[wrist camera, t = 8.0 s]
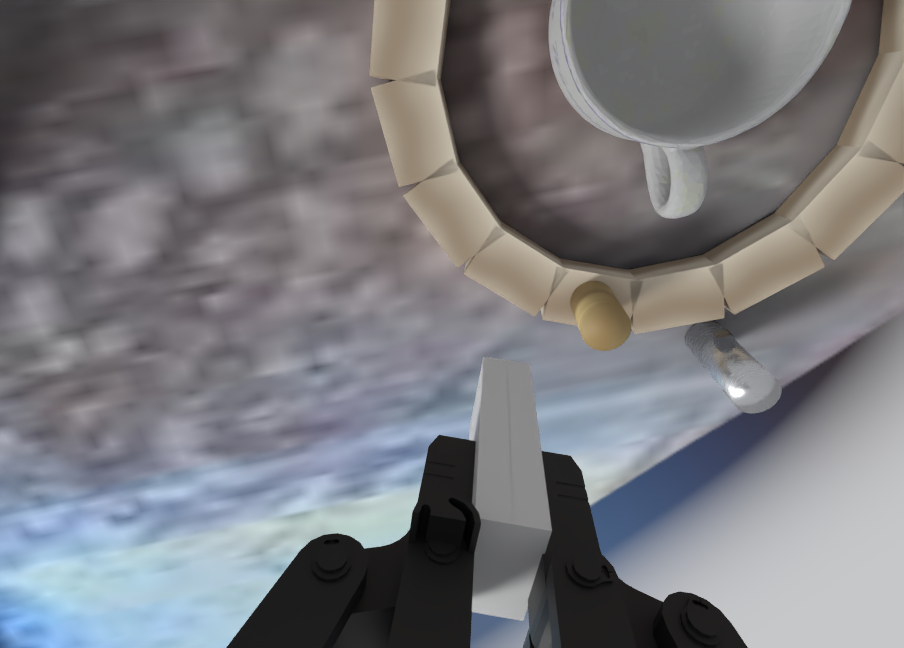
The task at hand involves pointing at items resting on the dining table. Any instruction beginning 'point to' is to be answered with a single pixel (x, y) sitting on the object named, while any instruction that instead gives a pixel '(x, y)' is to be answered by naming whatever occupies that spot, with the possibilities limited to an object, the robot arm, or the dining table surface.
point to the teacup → (686, 74)
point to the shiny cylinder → (733, 367)
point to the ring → (651, 287)
